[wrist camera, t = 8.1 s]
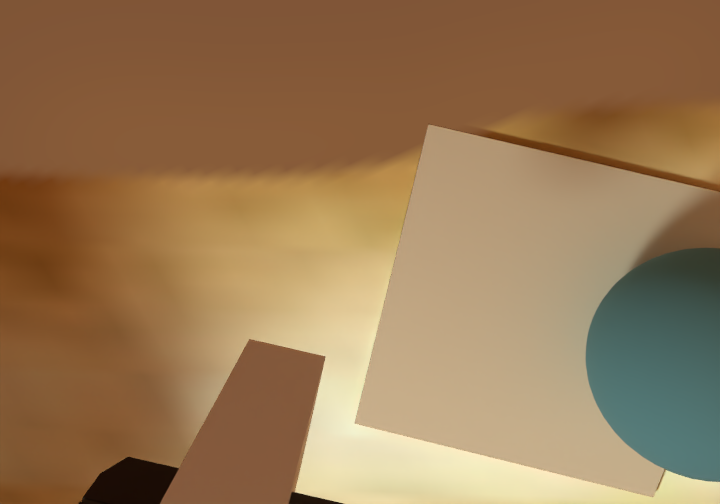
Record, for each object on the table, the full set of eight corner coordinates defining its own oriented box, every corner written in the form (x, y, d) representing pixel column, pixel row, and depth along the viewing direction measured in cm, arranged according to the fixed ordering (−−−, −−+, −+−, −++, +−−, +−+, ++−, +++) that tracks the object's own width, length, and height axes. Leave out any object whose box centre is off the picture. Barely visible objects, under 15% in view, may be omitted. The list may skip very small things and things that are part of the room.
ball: (742, 557, 14) (518, 430, 19) (838, 504, 18) (632, 408, 23) (829, 281, 13) (571, 217, 18) (911, 285, 17) (681, 232, 22)
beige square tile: (651, 493, 23) (653, 497, 22) (355, 420, 23) (354, 423, 23) (768, 203, 20) (771, 204, 20) (428, 123, 20) (428, 124, 20)
